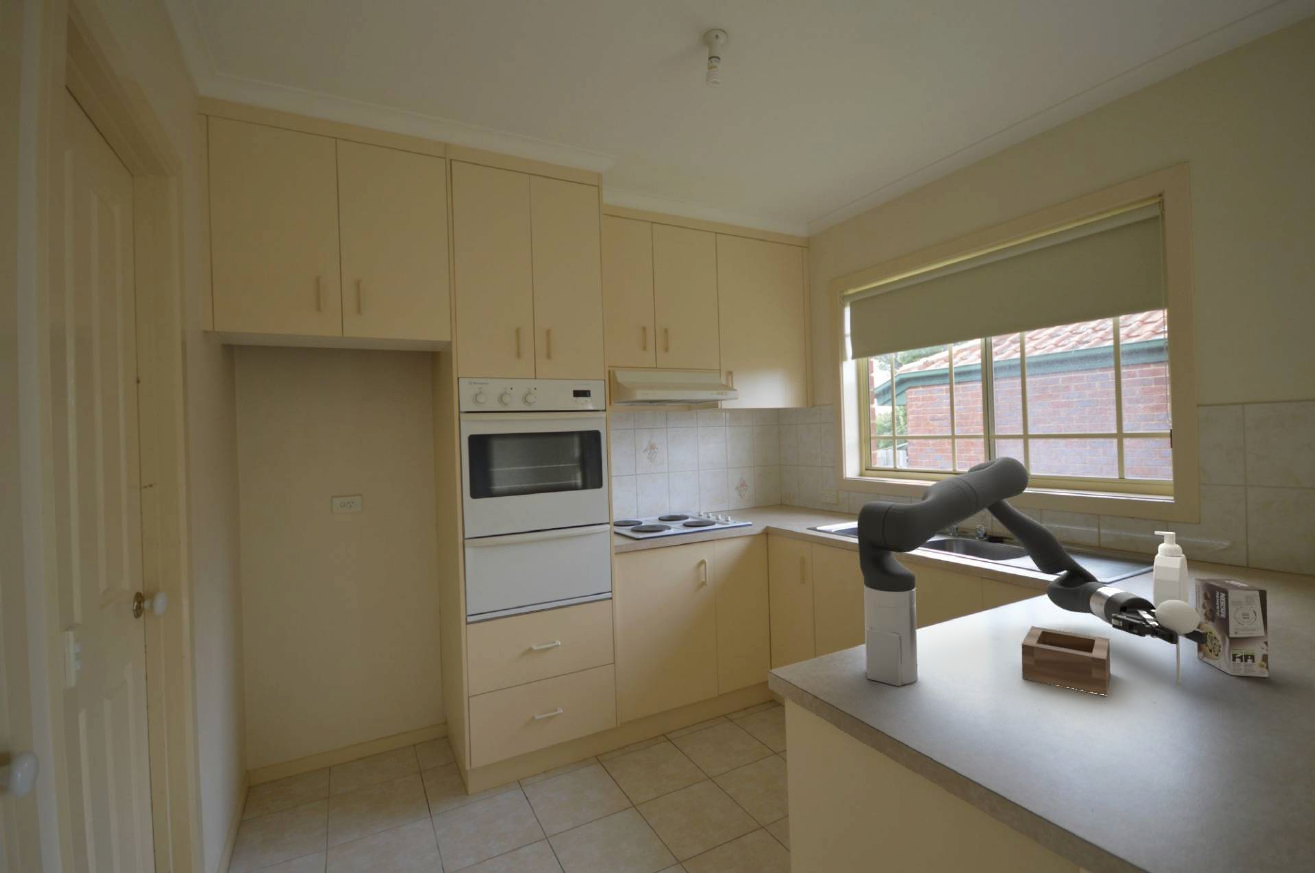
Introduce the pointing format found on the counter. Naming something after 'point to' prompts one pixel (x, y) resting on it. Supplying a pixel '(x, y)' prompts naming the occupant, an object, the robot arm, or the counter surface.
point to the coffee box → (1233, 626)
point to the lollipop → (1177, 621)
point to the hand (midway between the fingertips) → (1190, 638)
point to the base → (1066, 659)
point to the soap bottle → (1169, 572)
